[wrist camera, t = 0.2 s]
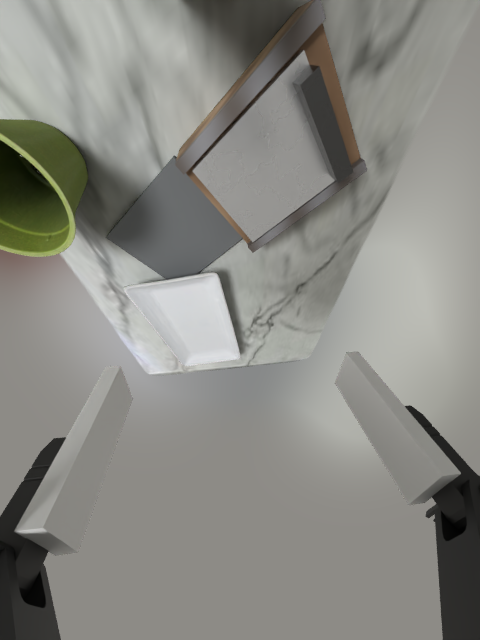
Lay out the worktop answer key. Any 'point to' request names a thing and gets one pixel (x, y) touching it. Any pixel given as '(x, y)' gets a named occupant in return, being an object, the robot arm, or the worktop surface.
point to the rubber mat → (174, 227)
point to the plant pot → (38, 188)
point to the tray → (189, 317)
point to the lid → (277, 151)
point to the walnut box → (288, 41)
